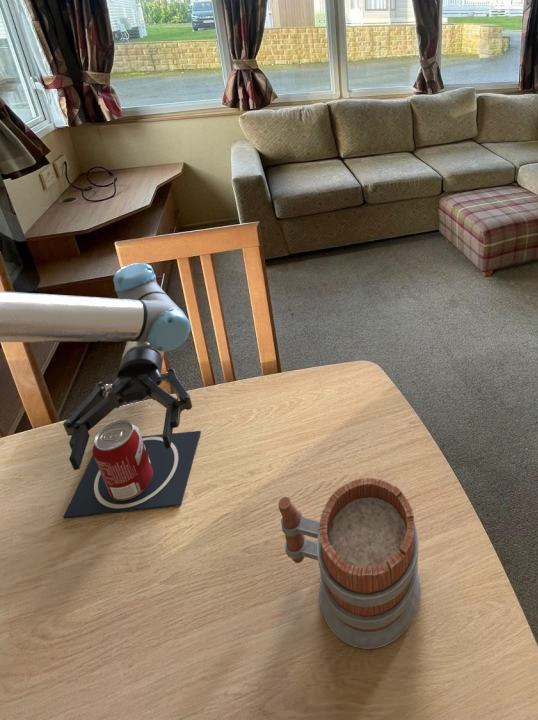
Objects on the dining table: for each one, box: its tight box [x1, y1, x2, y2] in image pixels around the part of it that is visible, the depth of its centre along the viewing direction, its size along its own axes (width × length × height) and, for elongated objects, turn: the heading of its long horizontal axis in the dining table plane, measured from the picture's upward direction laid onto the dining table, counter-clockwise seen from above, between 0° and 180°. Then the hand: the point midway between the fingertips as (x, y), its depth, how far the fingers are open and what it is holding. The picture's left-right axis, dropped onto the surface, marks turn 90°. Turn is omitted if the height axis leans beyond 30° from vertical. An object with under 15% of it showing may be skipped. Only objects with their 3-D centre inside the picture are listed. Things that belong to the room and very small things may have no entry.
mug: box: [277, 477, 422, 650], centre depth 65 cm, size 14×19×15 cm
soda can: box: [92, 418, 153, 500], centre depth 78 cm, size 7×7×12 cm
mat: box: [62, 430, 202, 520], centre depth 83 cm, size 18×14×1 cm
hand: (121, 453), depth 78 cm, fingers open, 13 cm apart
